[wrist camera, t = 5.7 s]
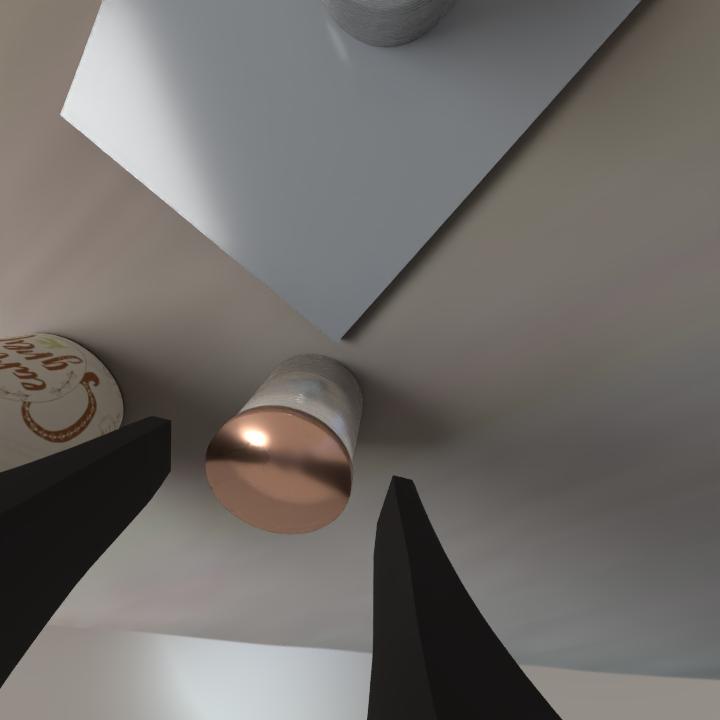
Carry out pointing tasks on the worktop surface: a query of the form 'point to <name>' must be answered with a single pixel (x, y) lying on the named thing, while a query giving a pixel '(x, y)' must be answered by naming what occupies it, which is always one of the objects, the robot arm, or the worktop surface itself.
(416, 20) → the tin middle
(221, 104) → the slate board
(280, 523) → the cylinder
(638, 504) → the worktop surface
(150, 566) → the worktop surface
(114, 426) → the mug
